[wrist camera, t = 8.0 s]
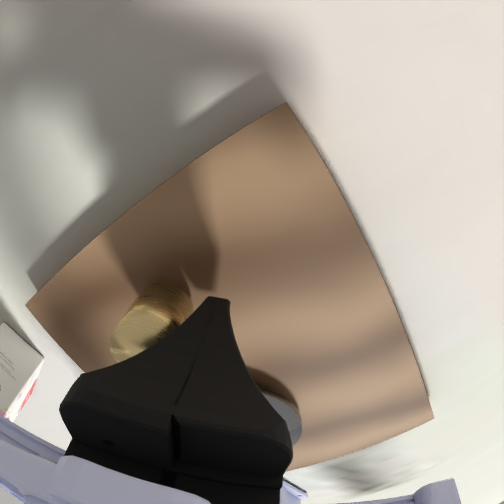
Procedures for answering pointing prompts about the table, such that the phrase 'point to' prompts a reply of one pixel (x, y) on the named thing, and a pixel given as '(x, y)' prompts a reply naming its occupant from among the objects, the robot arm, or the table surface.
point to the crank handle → (164, 322)
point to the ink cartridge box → (16, 372)
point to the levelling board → (258, 286)
